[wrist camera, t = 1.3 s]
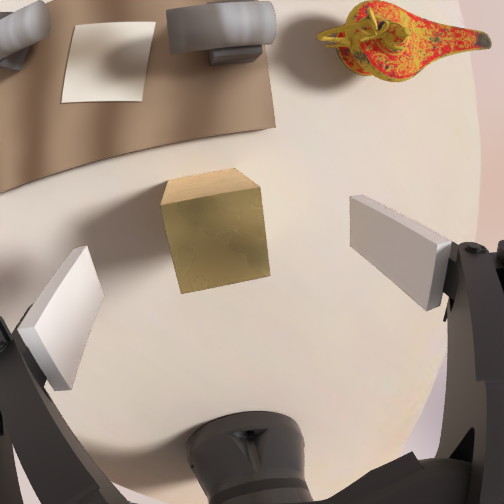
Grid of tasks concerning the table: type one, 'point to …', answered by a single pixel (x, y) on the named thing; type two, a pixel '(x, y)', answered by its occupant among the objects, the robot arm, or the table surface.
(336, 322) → the table surface
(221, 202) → the block
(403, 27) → the magic lamp
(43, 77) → the shaft bench
